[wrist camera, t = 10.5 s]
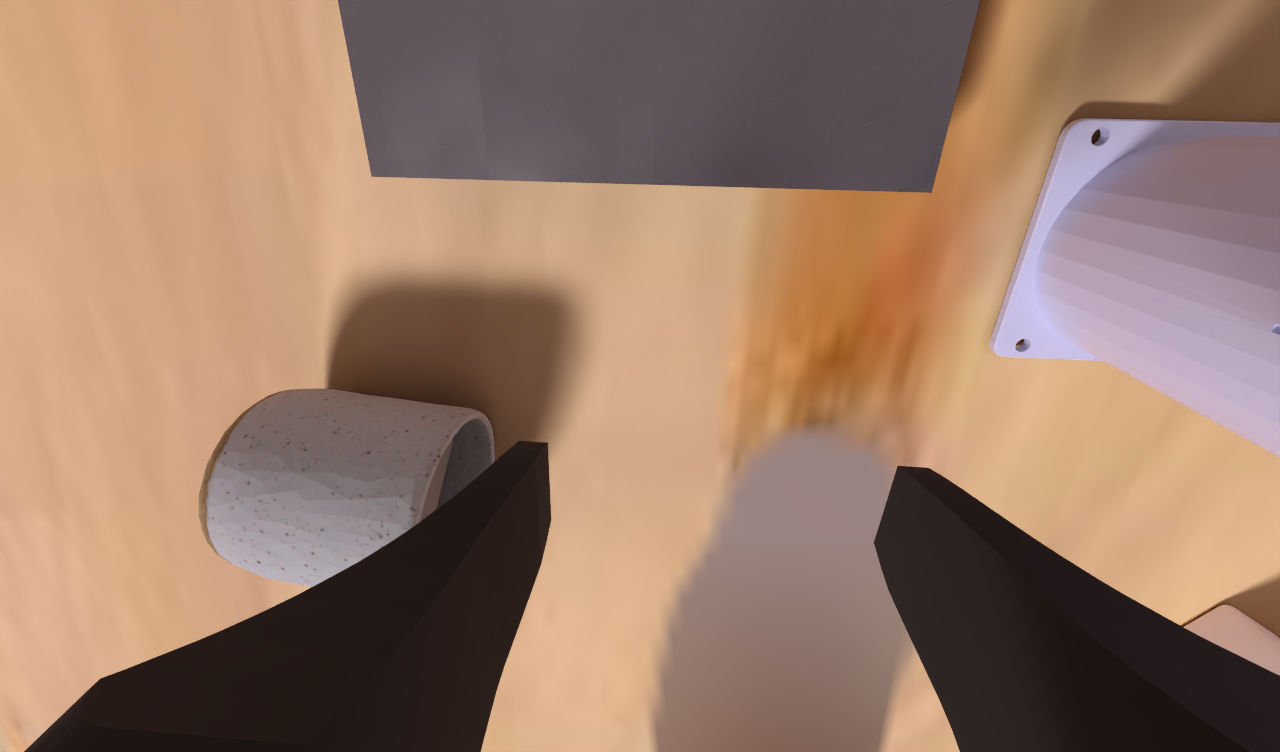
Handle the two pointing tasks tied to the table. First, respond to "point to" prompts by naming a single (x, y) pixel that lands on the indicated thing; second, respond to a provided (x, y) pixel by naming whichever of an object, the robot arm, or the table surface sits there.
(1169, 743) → the robot arm
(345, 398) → the ceramic mug
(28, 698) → the table surface
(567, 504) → the table surface
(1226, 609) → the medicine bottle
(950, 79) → the keyhole plate
